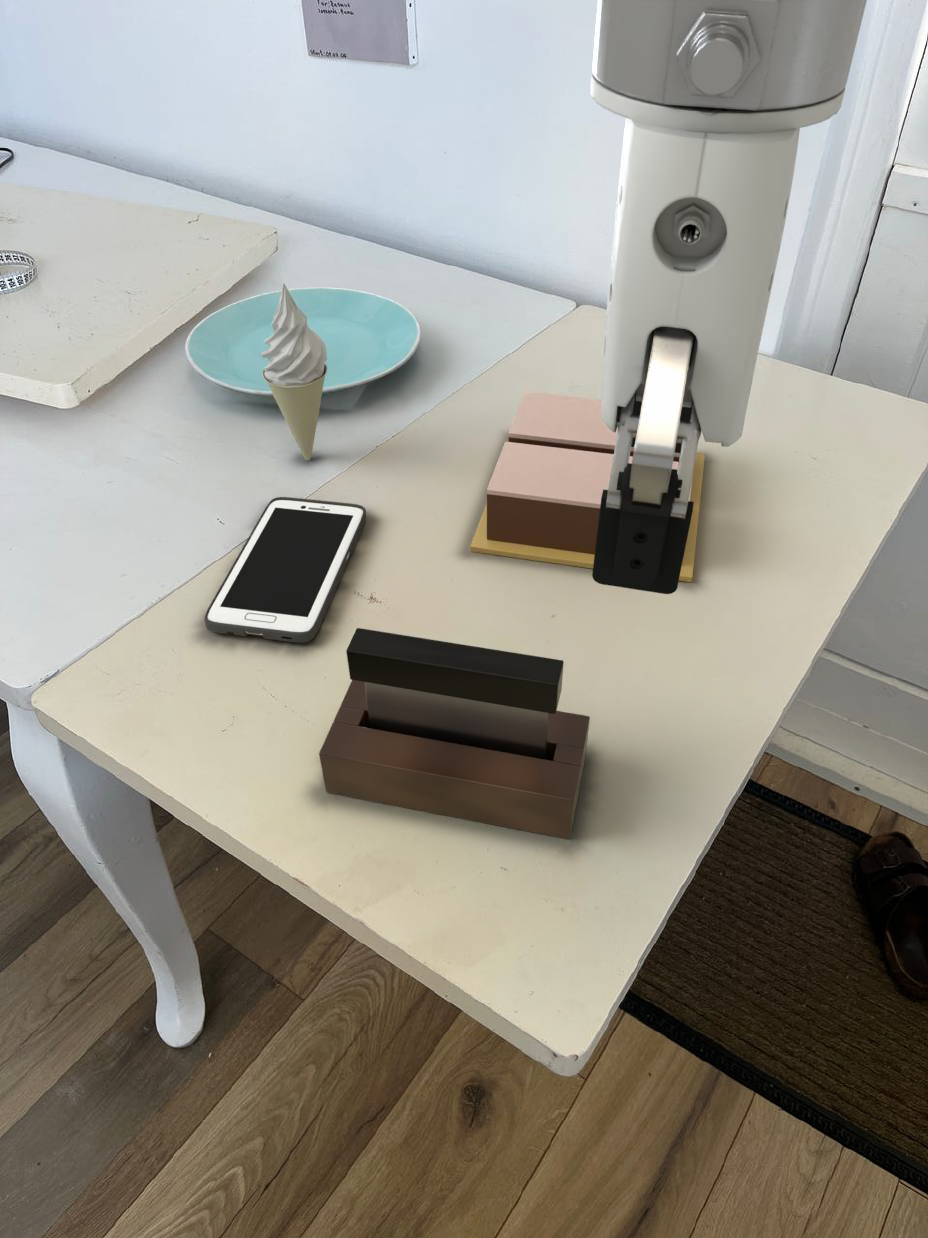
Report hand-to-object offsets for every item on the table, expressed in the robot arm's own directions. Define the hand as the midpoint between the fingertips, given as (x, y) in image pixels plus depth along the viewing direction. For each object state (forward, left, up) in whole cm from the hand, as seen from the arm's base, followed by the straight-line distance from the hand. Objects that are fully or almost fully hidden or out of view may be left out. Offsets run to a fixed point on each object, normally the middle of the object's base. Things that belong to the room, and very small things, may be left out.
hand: (646, 509), depth 40 cm
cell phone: (+25, -15, -20) cm, 35 cm away
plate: (+35, -45, -20) cm, 60 cm away
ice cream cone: (+29, -29, -20) cm, 45 cm away
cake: (+5, -28, -20) cm, 35 cm away
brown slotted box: (+9, 0, -20) cm, 22 cm away
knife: (+9, 0, -20) cm, 22 cm away
